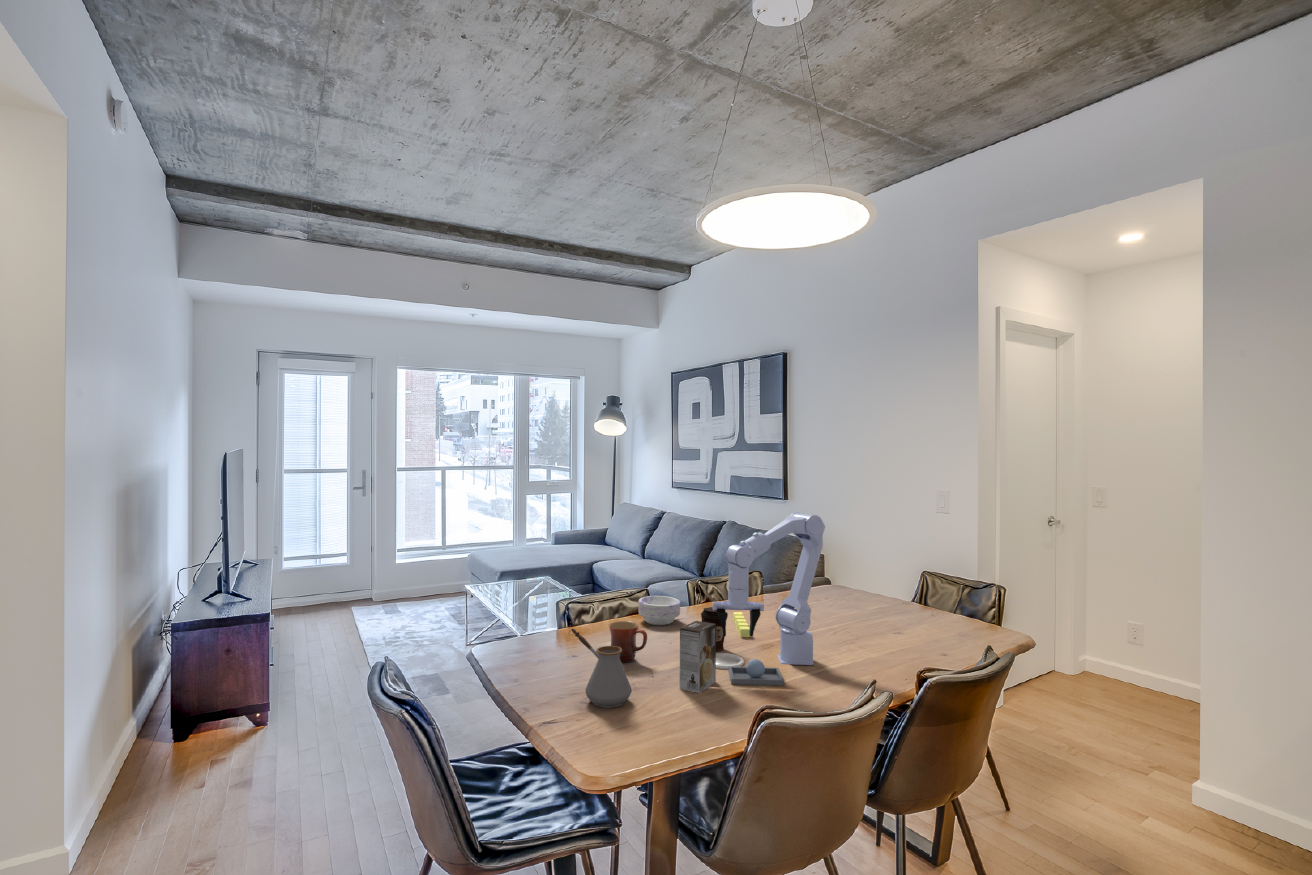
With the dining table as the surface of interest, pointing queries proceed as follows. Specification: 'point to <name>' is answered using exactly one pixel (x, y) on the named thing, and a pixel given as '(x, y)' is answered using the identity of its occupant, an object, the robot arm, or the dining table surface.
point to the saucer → (728, 660)
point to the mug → (626, 639)
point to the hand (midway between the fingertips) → (737, 635)
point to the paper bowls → (659, 609)
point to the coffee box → (697, 656)
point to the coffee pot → (607, 677)
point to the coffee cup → (712, 617)
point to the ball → (755, 668)
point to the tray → (742, 678)
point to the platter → (741, 624)
